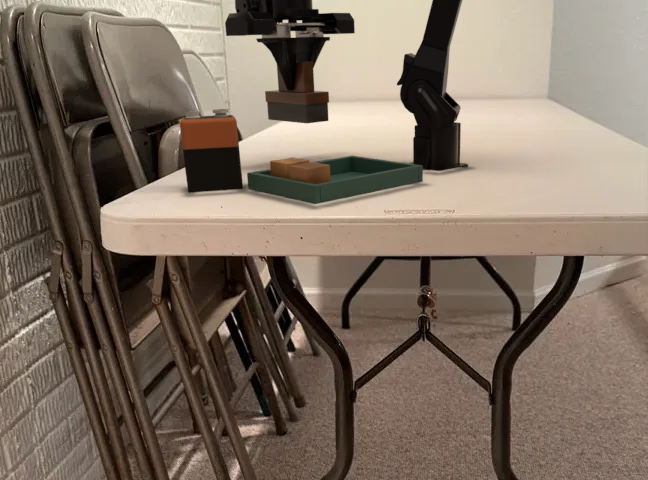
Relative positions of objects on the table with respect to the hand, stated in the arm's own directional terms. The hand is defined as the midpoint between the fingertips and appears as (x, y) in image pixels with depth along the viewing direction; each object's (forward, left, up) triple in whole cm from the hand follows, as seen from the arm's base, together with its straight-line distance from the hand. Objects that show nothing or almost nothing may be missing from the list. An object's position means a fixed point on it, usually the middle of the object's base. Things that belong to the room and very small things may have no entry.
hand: (296, 90), depth 103 cm
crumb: (+13, +19, -11) cm, 25 cm away
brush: (0, 0, -4) cm, 4 cm away
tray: (+7, +16, -11) cm, 21 cm away
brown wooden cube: (+14, +14, -9) cm, 21 cm away
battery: (+18, +5, -11) cm, 22 cm away
